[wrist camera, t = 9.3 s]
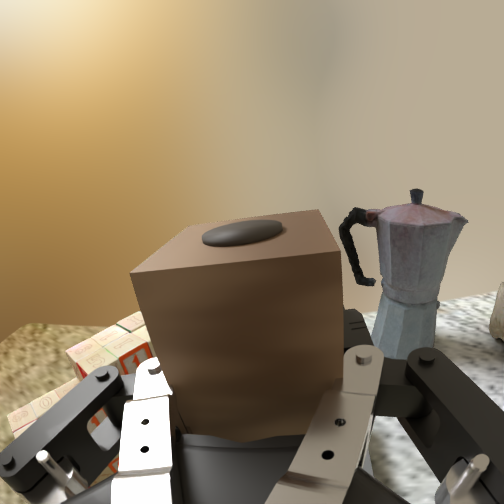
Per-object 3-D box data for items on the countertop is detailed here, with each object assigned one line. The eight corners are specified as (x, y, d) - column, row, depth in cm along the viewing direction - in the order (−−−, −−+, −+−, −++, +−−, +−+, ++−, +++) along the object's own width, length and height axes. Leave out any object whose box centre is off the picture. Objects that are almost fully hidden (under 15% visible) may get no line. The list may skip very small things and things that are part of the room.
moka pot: (461, 363, 29) (483, 193, 23) (341, 371, 34) (333, 200, 28) (445, 322, 37) (452, 182, 31) (344, 329, 42) (335, 187, 36)
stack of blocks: (77, 511, 16) (-3, 425, 13) (53, 473, 20) (-12, 388, 17) (225, 402, 32) (200, 310, 28) (189, 384, 36) (162, 298, 32)
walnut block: (221, 496, 10) (128, 267, 7) (237, 422, 15) (187, 222, 12) (334, 494, 10) (340, 243, 6) (328, 417, 14) (317, 205, 11)
